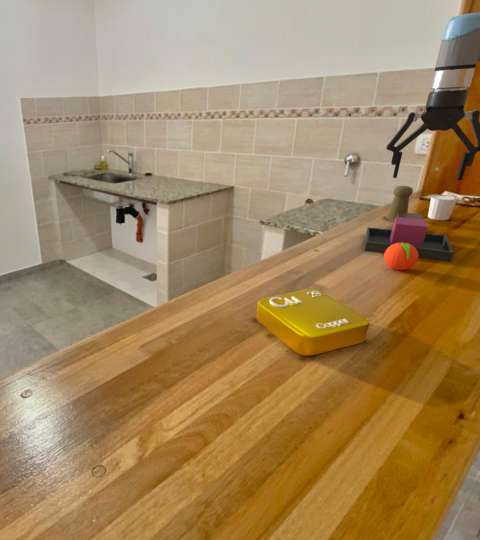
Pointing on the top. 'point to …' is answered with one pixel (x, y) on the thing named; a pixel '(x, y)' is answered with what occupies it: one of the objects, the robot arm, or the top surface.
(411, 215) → the walnut block
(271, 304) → the element tile
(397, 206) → the cork
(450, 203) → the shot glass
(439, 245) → the tray
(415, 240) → the mulberry cube
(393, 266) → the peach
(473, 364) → the top surface
